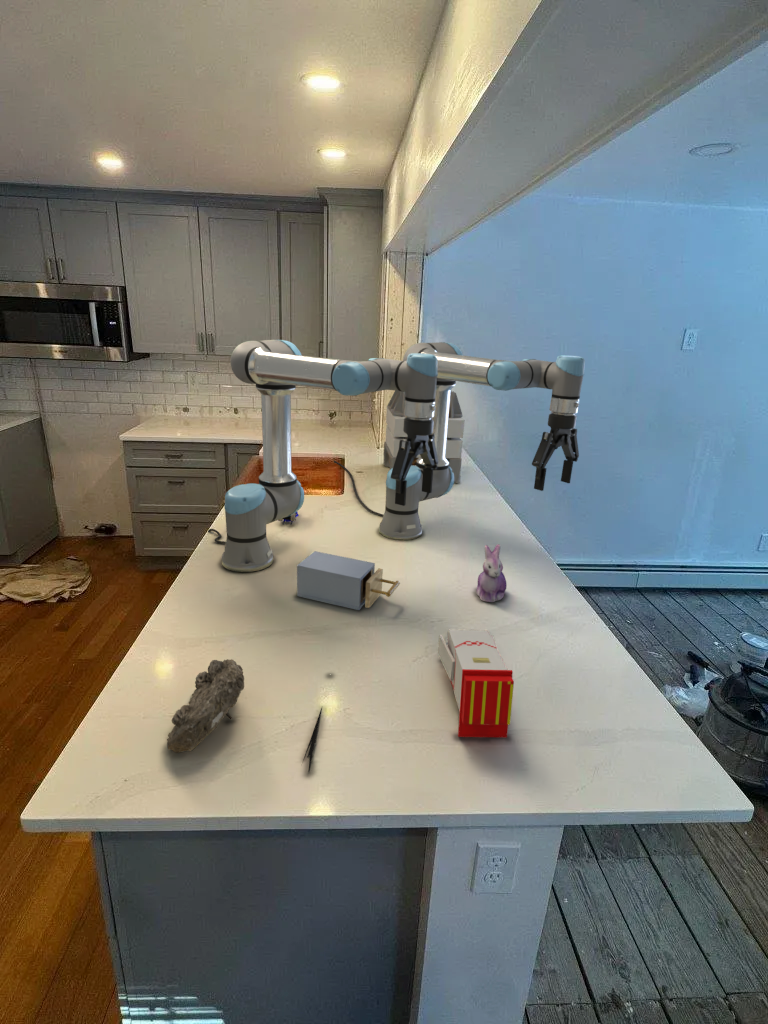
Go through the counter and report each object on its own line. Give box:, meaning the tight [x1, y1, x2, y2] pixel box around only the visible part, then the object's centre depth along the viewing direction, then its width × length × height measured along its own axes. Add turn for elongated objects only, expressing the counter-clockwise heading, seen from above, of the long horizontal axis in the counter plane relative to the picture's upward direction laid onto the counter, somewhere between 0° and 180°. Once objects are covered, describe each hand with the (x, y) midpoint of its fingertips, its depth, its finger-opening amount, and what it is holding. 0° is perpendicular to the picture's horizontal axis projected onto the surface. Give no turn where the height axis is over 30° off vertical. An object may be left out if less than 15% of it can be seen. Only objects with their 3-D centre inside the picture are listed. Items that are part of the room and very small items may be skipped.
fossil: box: [166, 658, 245, 754], centre depth 106 cm, size 22×10×15 cm
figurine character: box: [277, 511, 299, 526], centre depth 207 cm, size 7×8×15 cm
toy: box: [437, 628, 515, 738], centre depth 117 cm, size 12×13×30 cm
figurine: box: [476, 544, 507, 603], centre depth 157 cm, size 9×10×15 cm
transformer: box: [383, 390, 465, 484], centre depth 268 cm, size 34×33×41 cm
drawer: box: [361, 568, 401, 609], centre depth 152 cm, size 22×9×7 cm, turn 69°
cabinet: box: [296, 550, 376, 611], centre depth 154 cm, size 18×10×9 cm, turn 69°
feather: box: [301, 673, 332, 771], centre depth 108 cm, size 2×28×2 cm
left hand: (413, 498), depth 149 cm, fingers open, 13 cm apart
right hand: (552, 485), depth 166 cm, fingers open, 13 cm apart
